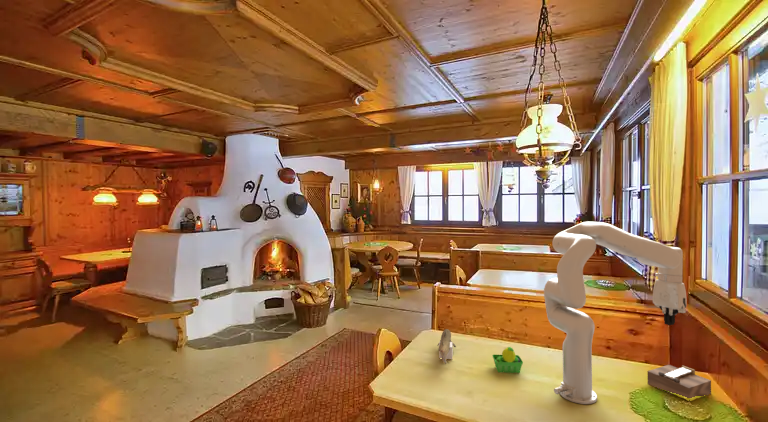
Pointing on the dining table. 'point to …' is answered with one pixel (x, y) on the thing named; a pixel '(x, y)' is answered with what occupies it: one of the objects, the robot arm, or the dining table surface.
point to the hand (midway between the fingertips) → (669, 324)
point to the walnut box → (679, 382)
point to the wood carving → (446, 346)
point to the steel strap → (677, 373)
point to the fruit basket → (508, 361)
